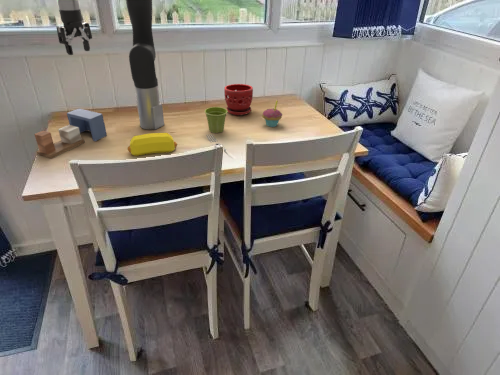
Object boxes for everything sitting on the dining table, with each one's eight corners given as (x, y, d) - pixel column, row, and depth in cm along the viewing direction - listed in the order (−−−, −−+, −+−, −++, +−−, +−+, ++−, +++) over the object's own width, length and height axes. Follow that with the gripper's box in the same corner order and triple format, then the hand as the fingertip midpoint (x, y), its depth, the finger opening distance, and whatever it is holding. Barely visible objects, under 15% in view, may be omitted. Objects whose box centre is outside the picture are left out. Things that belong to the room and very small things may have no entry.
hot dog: (127, 149, 136) (128, 159, 130) (125, 133, 132) (125, 142, 126) (176, 144, 141) (178, 153, 135) (174, 128, 137) (177, 136, 131)
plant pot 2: (257, 110, 174) (258, 86, 167) (242, 119, 164) (242, 93, 158) (234, 105, 180) (235, 81, 173) (219, 113, 170) (218, 87, 164)
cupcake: (284, 123, 161) (286, 97, 155) (277, 130, 155) (278, 102, 148) (266, 119, 164) (267, 93, 158) (258, 126, 158) (259, 99, 151)
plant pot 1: (231, 128, 155) (230, 108, 151) (222, 136, 148) (222, 116, 143) (211, 124, 158) (210, 105, 153) (201, 133, 150) (200, 113, 146)
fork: (234, 164, 129) (234, 159, 128) (205, 138, 146) (205, 134, 145) (242, 161, 131) (242, 157, 130) (212, 137, 148) (212, 133, 147)
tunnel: (108, 134, 146) (104, 112, 142) (95, 141, 141) (90, 118, 136) (86, 128, 151) (81, 107, 146) (72, 134, 145) (66, 113, 140)
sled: (84, 142, 140) (79, 122, 135) (50, 158, 128) (44, 137, 124) (71, 139, 142) (66, 119, 138) (37, 154, 131) (30, 133, 126)
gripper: (61, 10, 130) (72, 57, 139) (91, 7, 141) (99, 50, 150) (46, 9, 133) (57, 55, 141) (76, 5, 144) (85, 48, 152)
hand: (79, 52), depth 146 cm, fingers open, 8 cm apart
